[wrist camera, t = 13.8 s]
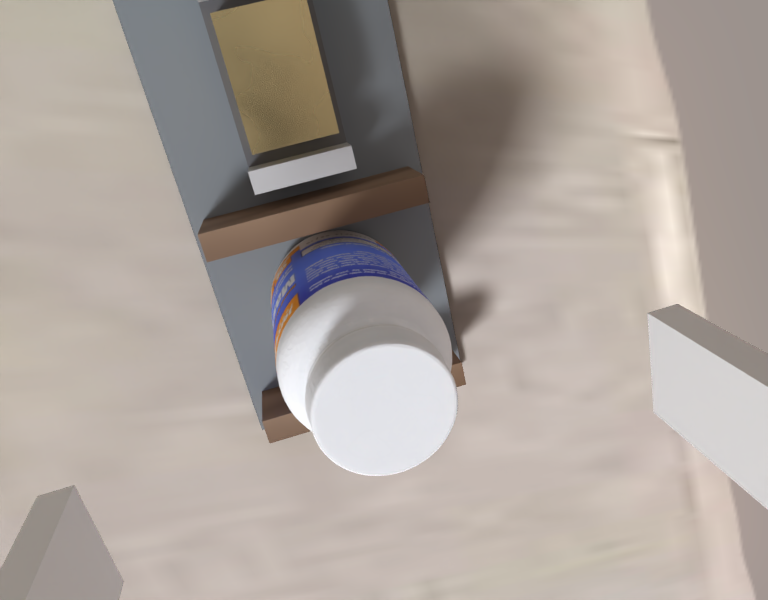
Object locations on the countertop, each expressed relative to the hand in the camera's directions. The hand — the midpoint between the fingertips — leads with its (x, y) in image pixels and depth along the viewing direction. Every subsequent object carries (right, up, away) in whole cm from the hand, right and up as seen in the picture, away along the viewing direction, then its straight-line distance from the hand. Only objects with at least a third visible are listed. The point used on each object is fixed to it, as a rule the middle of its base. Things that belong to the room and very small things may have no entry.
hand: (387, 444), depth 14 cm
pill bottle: (-2, +4, +11) cm, 12 cm away
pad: (-4, +11, +7) cm, 14 cm away
